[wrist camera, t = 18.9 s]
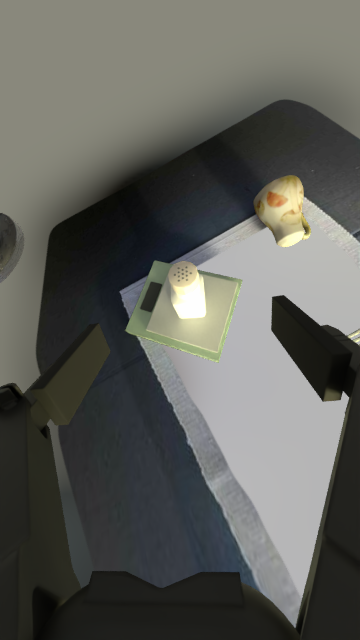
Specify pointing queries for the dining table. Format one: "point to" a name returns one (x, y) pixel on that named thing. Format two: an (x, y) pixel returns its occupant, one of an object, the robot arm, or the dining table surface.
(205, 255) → the dining table surface
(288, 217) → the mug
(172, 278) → the pepper shaker
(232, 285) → the scale
